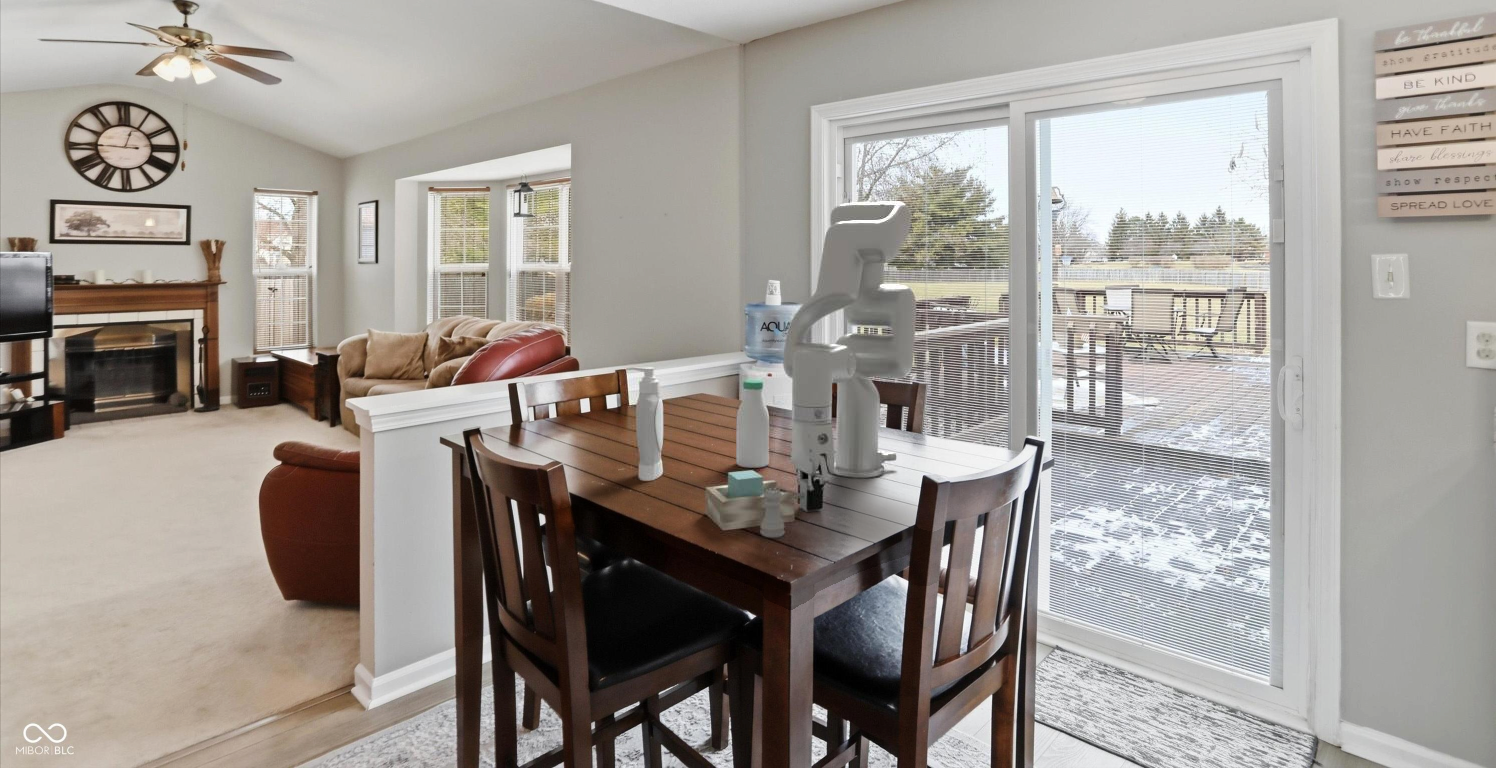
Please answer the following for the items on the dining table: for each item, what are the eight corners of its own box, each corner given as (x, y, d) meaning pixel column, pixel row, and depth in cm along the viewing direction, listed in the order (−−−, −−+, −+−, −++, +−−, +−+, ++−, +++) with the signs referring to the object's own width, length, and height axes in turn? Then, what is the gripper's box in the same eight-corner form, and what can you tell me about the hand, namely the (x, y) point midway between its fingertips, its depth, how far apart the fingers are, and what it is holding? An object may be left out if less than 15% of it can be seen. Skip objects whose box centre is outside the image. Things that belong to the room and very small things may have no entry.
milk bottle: (769, 468, 176) (769, 383, 173) (735, 468, 176) (736, 383, 173) (768, 460, 184) (769, 378, 181) (736, 460, 184) (737, 378, 181)
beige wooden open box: (772, 505, 150) (772, 479, 149) (794, 520, 141) (794, 493, 140) (705, 513, 145) (705, 487, 144) (723, 530, 135) (723, 502, 135)
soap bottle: (635, 466, 177) (633, 363, 174) (668, 468, 177) (667, 363, 173) (620, 482, 165) (618, 371, 161) (655, 483, 164) (654, 371, 160)
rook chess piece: (768, 527, 137) (769, 484, 136) (789, 532, 134) (790, 489, 133) (754, 535, 133) (755, 490, 132) (776, 540, 131) (776, 495, 130)
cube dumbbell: (811, 503, 150) (811, 463, 149) (822, 511, 146) (823, 470, 144) (727, 514, 144) (728, 472, 142) (737, 522, 139) (737, 479, 138)
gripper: (850, 420, 138) (847, 517, 141) (810, 404, 153) (808, 492, 156) (813, 423, 135) (811, 522, 138) (776, 407, 150) (775, 496, 153)
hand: (810, 505), depth 147 cm, fingers closed on cube dumbbell, 3 cm apart
